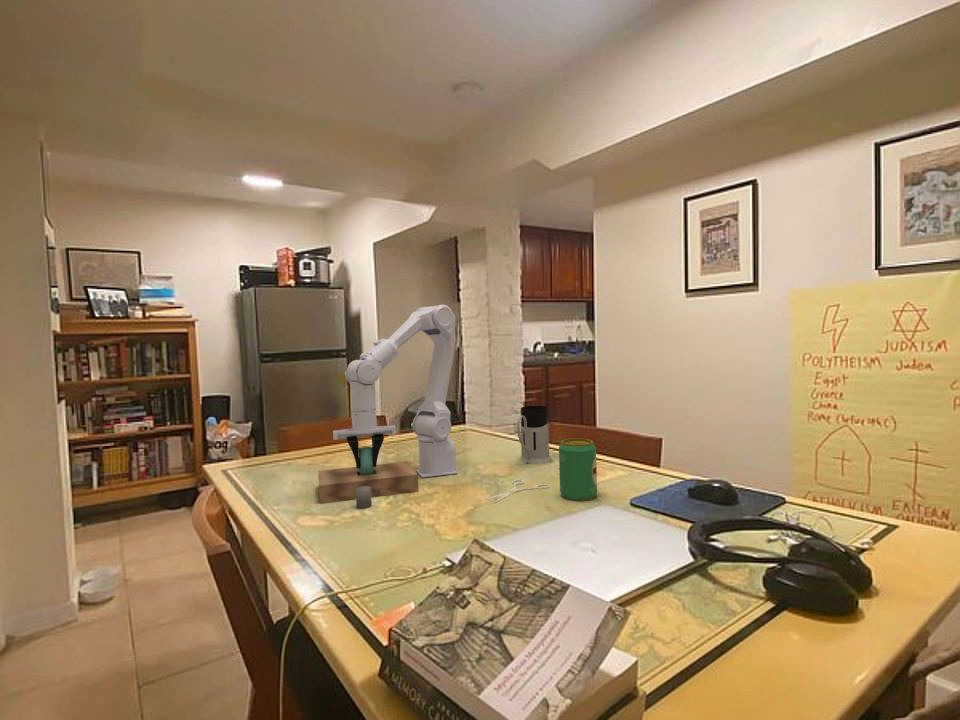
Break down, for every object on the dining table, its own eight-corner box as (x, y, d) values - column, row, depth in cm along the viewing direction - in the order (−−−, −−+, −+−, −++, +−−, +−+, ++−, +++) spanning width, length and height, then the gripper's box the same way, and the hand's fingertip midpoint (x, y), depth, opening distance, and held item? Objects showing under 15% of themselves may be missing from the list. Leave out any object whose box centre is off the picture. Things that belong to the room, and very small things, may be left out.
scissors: (555, 483, 125) (504, 505, 109) (555, 486, 125) (504, 509, 109) (518, 477, 132) (466, 496, 116) (519, 480, 132) (466, 500, 116)
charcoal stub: (370, 503, 115) (370, 485, 115) (372, 507, 112) (371, 489, 112) (355, 505, 114) (355, 487, 114) (357, 509, 111) (356, 491, 111)
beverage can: (597, 502, 111) (596, 445, 110) (559, 501, 112) (557, 445, 112) (596, 490, 119) (595, 438, 118) (561, 490, 120) (559, 437, 120)
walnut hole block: (407, 476, 136) (407, 461, 136) (418, 491, 123) (417, 474, 123) (318, 487, 130) (318, 470, 129) (319, 503, 116) (319, 485, 116)
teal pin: (376, 479, 127) (374, 446, 127) (370, 483, 124) (369, 449, 124) (363, 479, 128) (362, 446, 127) (358, 483, 125) (356, 449, 124)
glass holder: (556, 458, 152) (554, 406, 151) (534, 469, 140) (532, 413, 139) (528, 455, 156) (527, 404, 156) (505, 466, 144) (503, 411, 144)
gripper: (391, 406, 131) (394, 460, 132) (331, 410, 127) (334, 466, 128) (396, 409, 125) (398, 466, 125) (332, 414, 120) (335, 473, 121)
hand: (366, 466), depth 126 cm, fingers closed on teal pin, 3 cm apart
